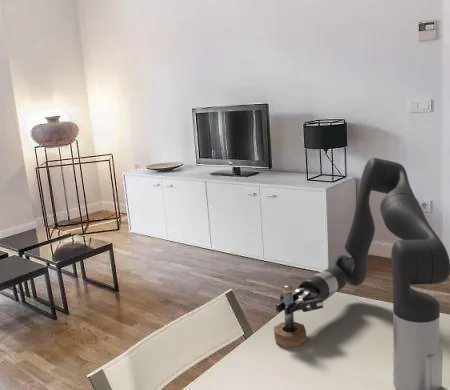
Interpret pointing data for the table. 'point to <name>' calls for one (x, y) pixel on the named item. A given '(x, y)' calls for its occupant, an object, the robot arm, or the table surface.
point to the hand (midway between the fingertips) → (281, 310)
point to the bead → (290, 335)
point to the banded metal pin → (287, 300)
